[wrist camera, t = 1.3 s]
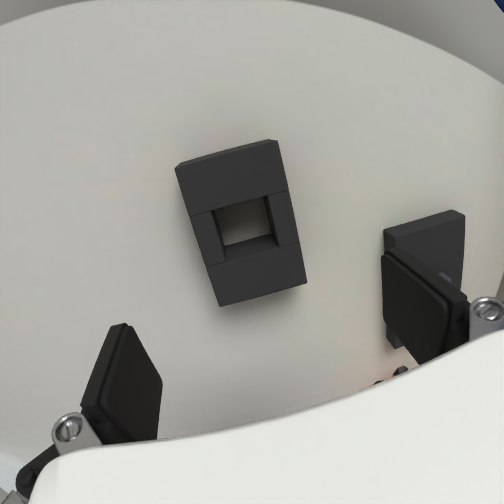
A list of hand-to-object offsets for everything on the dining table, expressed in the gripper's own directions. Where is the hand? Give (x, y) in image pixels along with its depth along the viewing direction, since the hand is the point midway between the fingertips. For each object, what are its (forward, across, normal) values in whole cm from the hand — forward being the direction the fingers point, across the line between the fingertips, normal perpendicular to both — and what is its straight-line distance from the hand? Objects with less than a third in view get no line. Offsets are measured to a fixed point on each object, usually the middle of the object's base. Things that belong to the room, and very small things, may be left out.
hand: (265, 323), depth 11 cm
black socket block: (+13, 0, 0) cm, 13 cm away
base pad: (+13, -16, +10) cm, 22 cm away
